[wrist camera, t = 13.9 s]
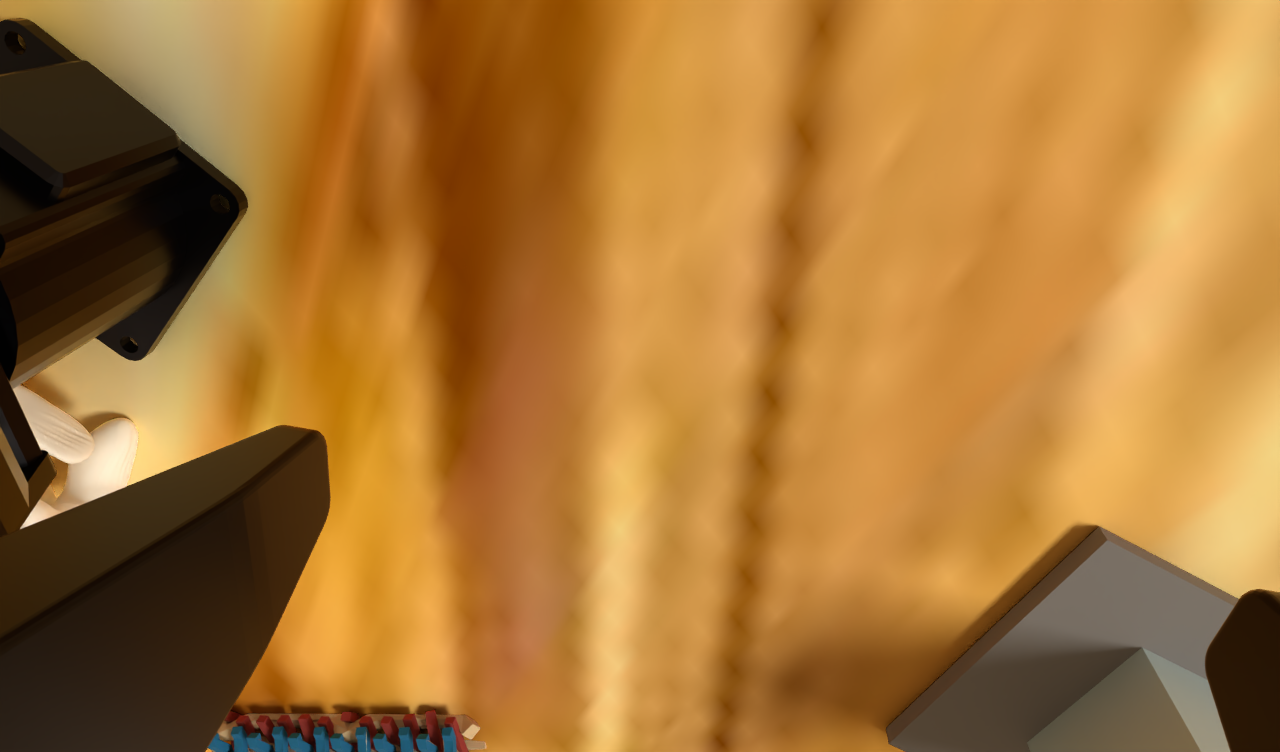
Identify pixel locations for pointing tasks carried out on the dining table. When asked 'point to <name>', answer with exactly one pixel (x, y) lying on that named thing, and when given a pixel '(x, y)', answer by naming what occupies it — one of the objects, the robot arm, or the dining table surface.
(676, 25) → the dining table surface
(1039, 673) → the felt pad
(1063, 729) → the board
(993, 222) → the dining table surface
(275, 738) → the woven mat
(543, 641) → the dining table surface
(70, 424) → the animal skull
